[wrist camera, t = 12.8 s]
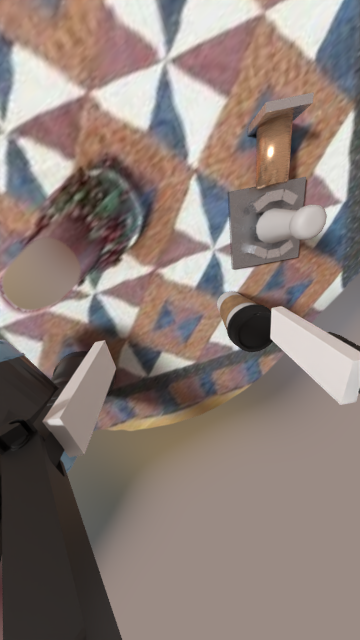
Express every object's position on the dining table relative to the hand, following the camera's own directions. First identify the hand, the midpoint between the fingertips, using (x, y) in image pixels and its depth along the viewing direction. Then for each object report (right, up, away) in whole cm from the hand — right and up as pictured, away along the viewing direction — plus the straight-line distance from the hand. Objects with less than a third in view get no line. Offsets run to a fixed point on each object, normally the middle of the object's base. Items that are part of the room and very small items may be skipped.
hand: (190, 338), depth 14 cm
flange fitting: (+15, +24, +20) cm, 35 cm away
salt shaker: (+16, +20, +22) cm, 34 cm away
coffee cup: (+11, +6, +29) cm, 32 cm away
